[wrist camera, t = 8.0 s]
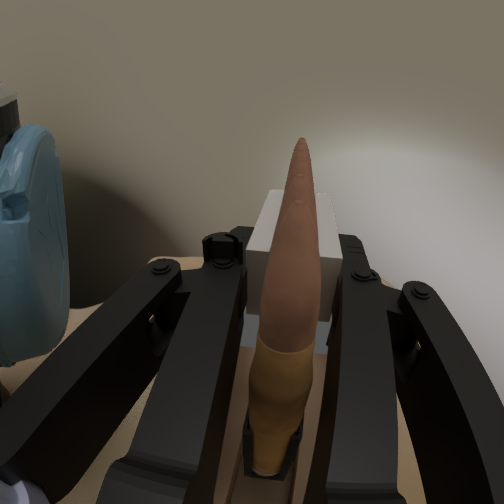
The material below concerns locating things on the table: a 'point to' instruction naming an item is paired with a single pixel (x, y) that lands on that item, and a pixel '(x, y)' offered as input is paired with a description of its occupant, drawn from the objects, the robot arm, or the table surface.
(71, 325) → the table surface
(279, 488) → the table surface
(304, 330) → the ammunition clip
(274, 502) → the table surface
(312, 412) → the walnut caddy
